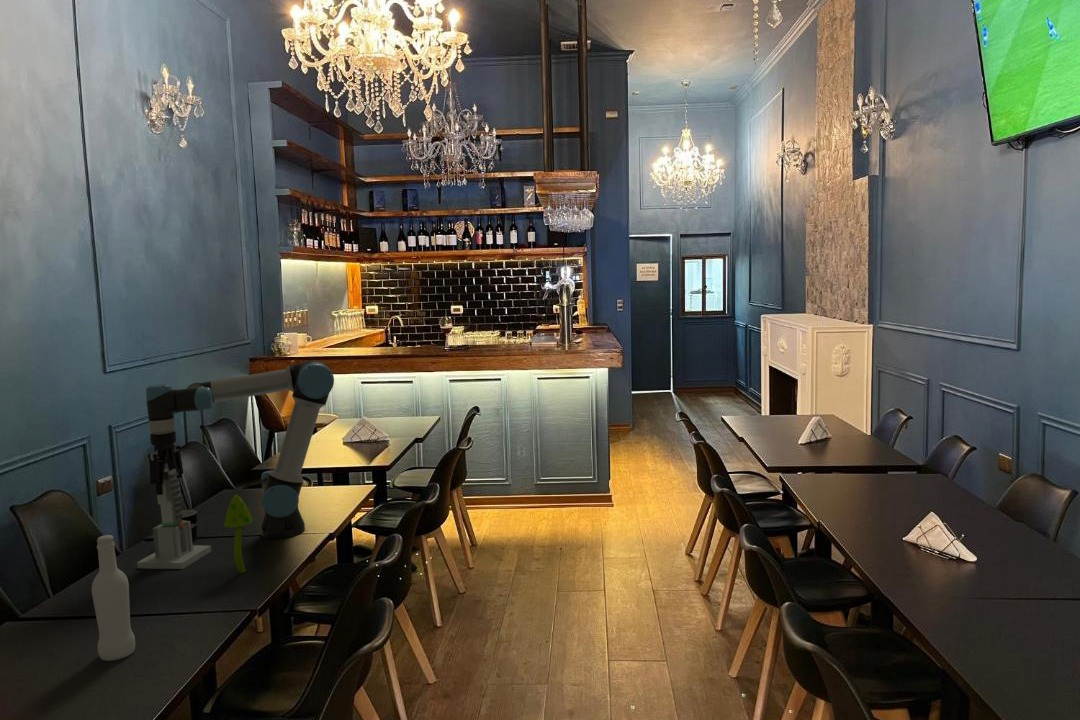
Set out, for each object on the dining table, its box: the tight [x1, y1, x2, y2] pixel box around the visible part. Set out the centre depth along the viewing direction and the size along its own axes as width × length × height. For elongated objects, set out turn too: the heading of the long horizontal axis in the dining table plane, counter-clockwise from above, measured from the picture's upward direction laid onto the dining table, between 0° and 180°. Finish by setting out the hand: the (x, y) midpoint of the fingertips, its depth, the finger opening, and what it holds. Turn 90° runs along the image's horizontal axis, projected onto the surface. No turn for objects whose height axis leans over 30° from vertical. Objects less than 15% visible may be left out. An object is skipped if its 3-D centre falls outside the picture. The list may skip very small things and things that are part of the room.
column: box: [159, 468, 183, 534], centre depth 255 cm, size 5×4×22 cm
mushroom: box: [223, 494, 254, 574], centre depth 241 cm, size 8×8×25 cm
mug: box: [180, 509, 198, 543], centre depth 276 cm, size 12×9×10 cm
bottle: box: [91, 534, 136, 662], centre depth 189 cm, size 8×8×30 cm
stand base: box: [136, 521, 212, 570], centre depth 256 cm, size 16×16×13 cm
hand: (169, 500), depth 255 cm, fingers open, 7 cm apart
